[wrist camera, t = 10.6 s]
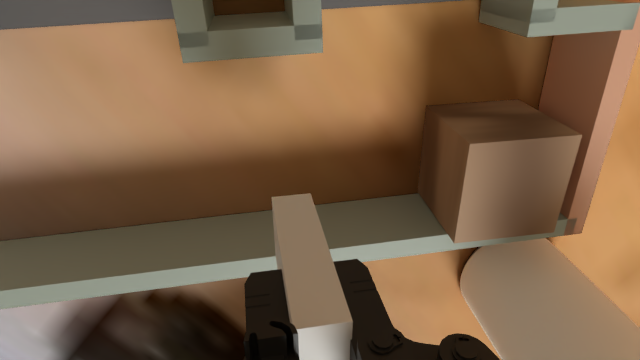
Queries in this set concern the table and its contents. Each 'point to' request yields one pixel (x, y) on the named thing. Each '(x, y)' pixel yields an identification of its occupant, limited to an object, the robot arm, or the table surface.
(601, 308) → the can
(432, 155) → the block
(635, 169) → the table surface
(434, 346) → the robot arm
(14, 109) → the table surface
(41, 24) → the box
